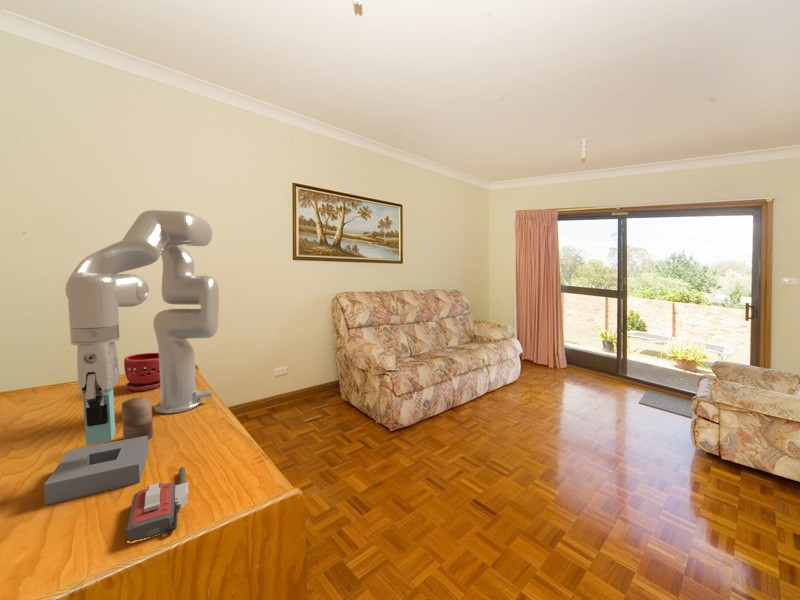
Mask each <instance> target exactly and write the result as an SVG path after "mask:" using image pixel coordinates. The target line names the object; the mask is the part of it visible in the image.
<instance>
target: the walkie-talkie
mask: <svg viewBox="0 0 800 600" xmlns="http://www.w3.org/2000/svg"><path fill="white" fill-rule="evenodd" d="M178 472H179V477H178V484H176V483H174V482H168V483H163V484H162V482H157V483H154V484H150V485H147V486H146V488H145V489H141V490H138V491H137V492H136V493H134V494H133V497H132V500H131V506H130V509H129V515H128V516H129V517H128V521H127V525H126V529H125V535H126V537H125V539H126V542H127V541H130V542H132V541H135V540H140V539H144V538H148V537H152V536H155V535H158V534H161V535H163V534H162V533H164V534H169V533H172V532H174V531H175V530H176V528H178V527H177V526H178V512H179V511H180V510H181V509H182V508H183V507H184V506H186V504H187V503H189V496H188V495H189V492H190V490H189V482H187V481H186V467H185V466H181V467H180V468H179V471H178ZM166 532H167V533H166ZM158 536H159V535H158ZM155 537H156V536H155ZM152 538H153V537H152Z"/></svg>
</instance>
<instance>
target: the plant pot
mask: <svg viewBox="0 0 800 600" xmlns="http://www.w3.org/2000/svg"><path fill="white" fill-rule="evenodd" d="M123 360H124V362H123V365H124V374H125V377H126V379H127V381H128V382H127V383H126V388H127V389H129V391H130V390H131V391H132V390H134V391H135V392H136V391H137V392H140V391H142V390H143V391H149V389H150V390H153V388H154V389H157V388H160V387H159V386H160V369H159V352H145V353H144V352H143V353H136V354H131V355H127V356H125V357H124V359H123Z"/></svg>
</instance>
